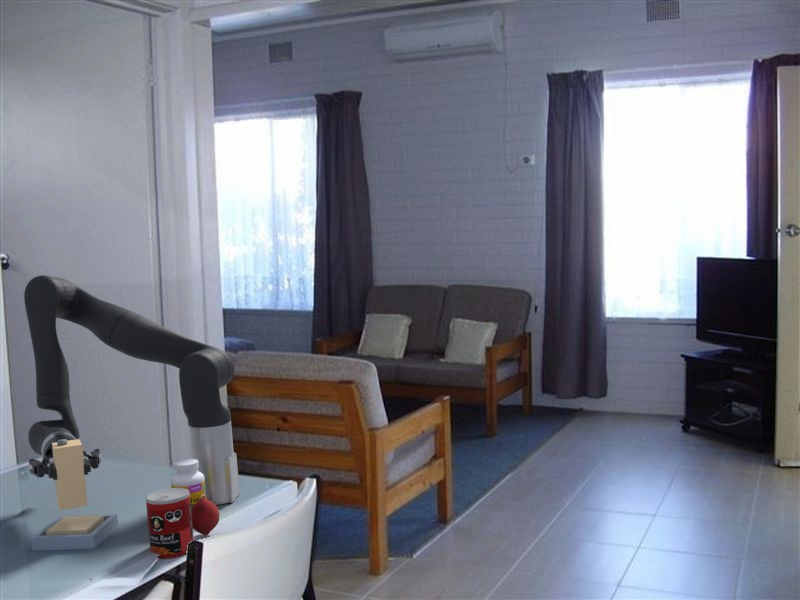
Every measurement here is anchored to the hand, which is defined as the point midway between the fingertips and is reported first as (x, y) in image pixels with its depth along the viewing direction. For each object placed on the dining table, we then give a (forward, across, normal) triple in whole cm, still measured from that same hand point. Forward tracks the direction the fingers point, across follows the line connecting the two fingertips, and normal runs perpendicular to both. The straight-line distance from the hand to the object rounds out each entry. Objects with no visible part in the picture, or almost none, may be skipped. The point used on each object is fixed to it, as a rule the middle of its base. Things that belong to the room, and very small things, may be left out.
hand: (70, 472), depth 171 cm
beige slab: (-2, 0, +14) cm, 14 cm away
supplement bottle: (0, +22, +15) cm, 27 cm away
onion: (+8, +23, +15) cm, 29 cm away
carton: (-3, 0, +7) cm, 7 cm away
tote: (-2, 0, +15) cm, 15 cm away
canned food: (+13, +15, +15) cm, 25 cm away
